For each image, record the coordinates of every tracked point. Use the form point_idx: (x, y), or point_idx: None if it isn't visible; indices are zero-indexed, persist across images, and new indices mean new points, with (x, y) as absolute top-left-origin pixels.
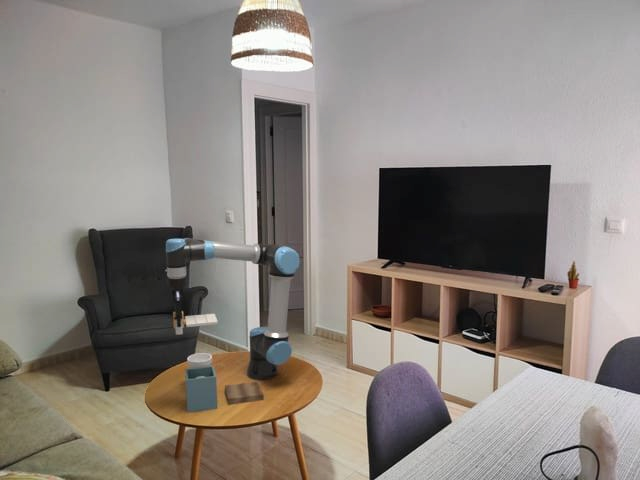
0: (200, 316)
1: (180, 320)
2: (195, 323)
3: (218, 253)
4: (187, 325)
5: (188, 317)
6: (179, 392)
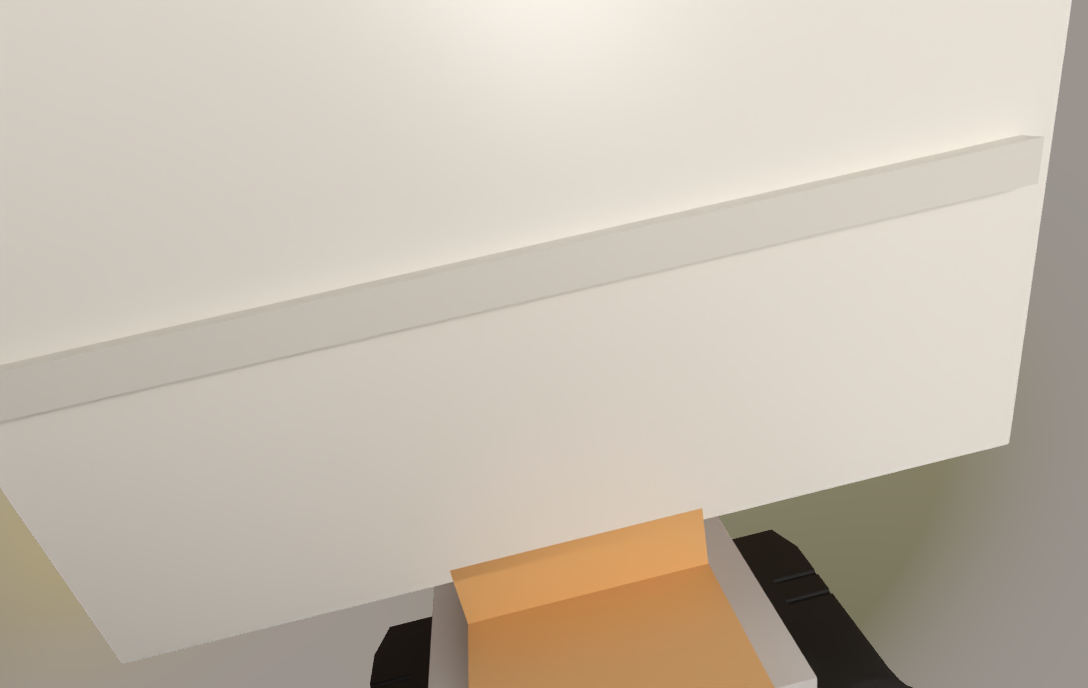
0: (67, 129)
1: (881, 668)
2: (1002, 196)
3: None
4: (990, 405)
5: (263, 543)
6: None
